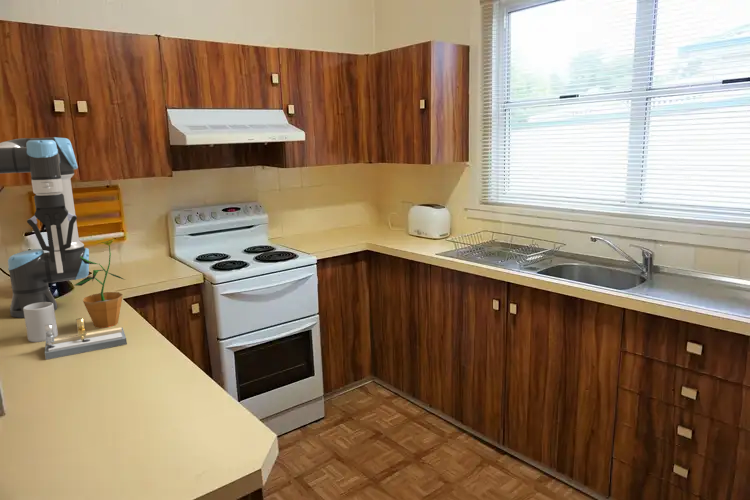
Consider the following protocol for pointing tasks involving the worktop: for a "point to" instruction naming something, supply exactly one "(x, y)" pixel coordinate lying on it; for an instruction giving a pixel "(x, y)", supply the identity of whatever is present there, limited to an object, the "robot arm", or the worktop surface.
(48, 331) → the fixed leg
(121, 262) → the worktop surface
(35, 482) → the worktop surface
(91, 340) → the board
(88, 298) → the potted plant
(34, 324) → the mug
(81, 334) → the brass slider pointer
